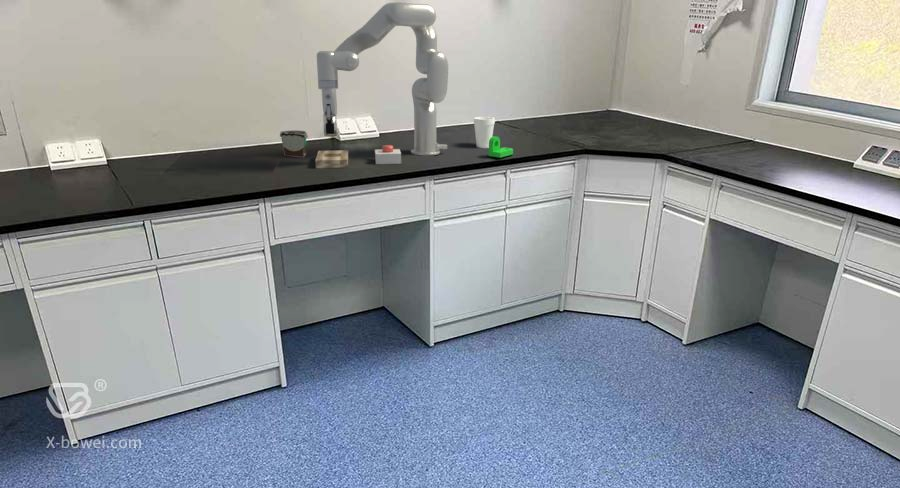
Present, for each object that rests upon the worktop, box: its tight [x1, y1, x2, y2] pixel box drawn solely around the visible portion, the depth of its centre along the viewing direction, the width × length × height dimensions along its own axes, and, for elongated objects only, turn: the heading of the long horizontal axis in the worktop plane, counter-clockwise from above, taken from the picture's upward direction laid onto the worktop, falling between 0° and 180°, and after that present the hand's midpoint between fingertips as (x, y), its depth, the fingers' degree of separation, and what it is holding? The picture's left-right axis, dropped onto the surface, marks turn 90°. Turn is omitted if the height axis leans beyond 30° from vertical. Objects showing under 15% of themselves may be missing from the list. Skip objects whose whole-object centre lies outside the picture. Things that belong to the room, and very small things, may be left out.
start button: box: [381, 144, 394, 152], centre depth 241 cm, size 4×4×2 cm
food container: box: [279, 130, 308, 158], centre depth 252 cm, size 12×6×10 cm, turn 71°
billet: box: [322, 114, 338, 137], centre depth 235 cm, size 5×5×8 cm
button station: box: [374, 148, 402, 165], centre depth 242 cm, size 10×10×4 cm
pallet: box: [314, 149, 349, 169], centre depth 239 cm, size 12×20×3 cm, turn 8°
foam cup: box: [473, 116, 496, 149], centre depth 274 cm, size 10×9×13 cm
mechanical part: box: [488, 135, 514, 158], centre depth 258 cm, size 12×6×8 cm, turn 142°
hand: (330, 132), depth 236 cm, fingers closed on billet, 5 cm apart
